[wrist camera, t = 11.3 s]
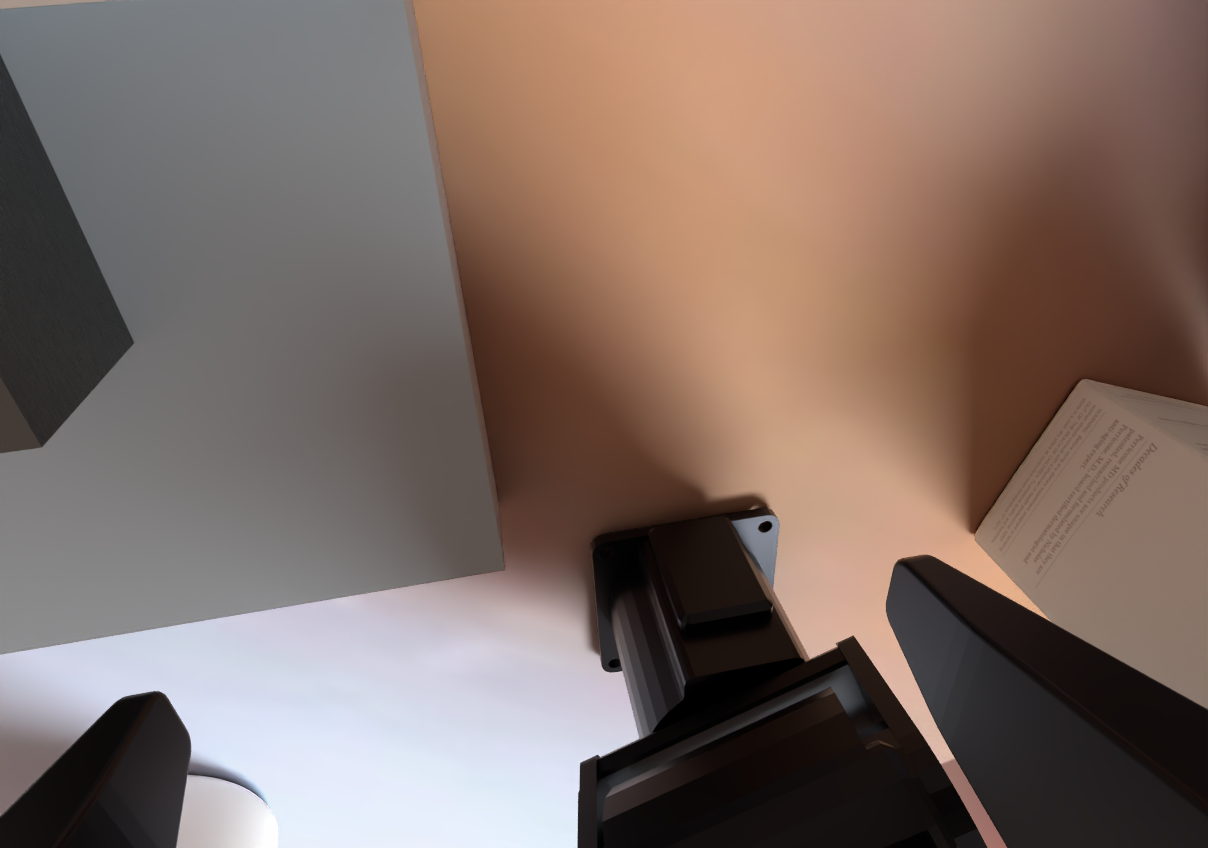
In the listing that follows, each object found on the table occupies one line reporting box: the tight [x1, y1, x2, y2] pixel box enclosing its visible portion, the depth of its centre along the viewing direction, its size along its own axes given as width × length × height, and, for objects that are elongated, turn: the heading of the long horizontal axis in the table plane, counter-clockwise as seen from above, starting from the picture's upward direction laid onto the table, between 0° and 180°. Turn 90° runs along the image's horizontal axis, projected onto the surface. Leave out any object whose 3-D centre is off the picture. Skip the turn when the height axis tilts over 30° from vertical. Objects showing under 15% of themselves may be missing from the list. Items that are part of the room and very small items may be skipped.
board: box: [0, 0, 505, 655], centre depth 16 cm, size 16×16×3 cm
